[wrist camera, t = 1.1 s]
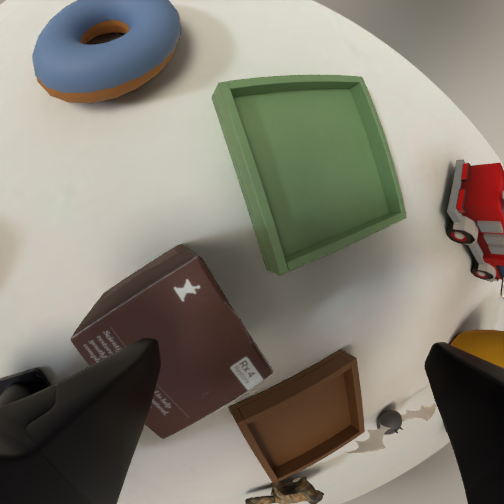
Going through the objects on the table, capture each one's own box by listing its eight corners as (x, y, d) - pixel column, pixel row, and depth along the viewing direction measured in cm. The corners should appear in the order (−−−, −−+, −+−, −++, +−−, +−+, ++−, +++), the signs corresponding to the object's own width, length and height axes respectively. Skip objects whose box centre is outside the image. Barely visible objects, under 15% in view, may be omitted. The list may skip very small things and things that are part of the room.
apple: (433, 400, 29) (495, 432, 17) (425, 364, 26) (506, 399, 14) (469, 347, 31) (528, 368, 19) (465, 303, 28) (538, 320, 16)
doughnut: (144, -2, 13) (147, -40, 8) (202, 69, 15) (217, 30, 11) (33, 57, 11) (14, 25, 6) (72, 145, 13) (47, 119, 9)
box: (101, 292, 15) (64, 336, 8) (182, 241, 16) (199, 249, 9) (156, 368, 16) (161, 442, 9) (231, 321, 17) (277, 375, 11)
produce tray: (266, 270, 18) (280, 275, 16) (211, 97, 16) (218, 82, 14) (389, 217, 21) (406, 217, 19) (347, 85, 19) (362, 76, 17)
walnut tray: (265, 470, 20) (273, 484, 18) (228, 406, 18) (236, 423, 16) (352, 421, 23) (364, 431, 21) (341, 348, 21) (356, 358, 19)
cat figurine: (313, 481, 22) (323, 505, 18) (243, 491, 21) (247, 517, 17) (317, 468, 21) (328, 493, 17) (242, 478, 20) (247, 506, 16)
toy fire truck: (478, 285, 30) (530, 295, 20) (432, 217, 24) (513, 217, 14) (490, 234, 31) (539, 238, 21) (446, 155, 25) (514, 145, 15)
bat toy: (330, 429, 22) (358, 455, 17) (421, 387, 27) (447, 400, 22) (325, 448, 22) (350, 474, 17) (415, 405, 27) (439, 419, 22)
